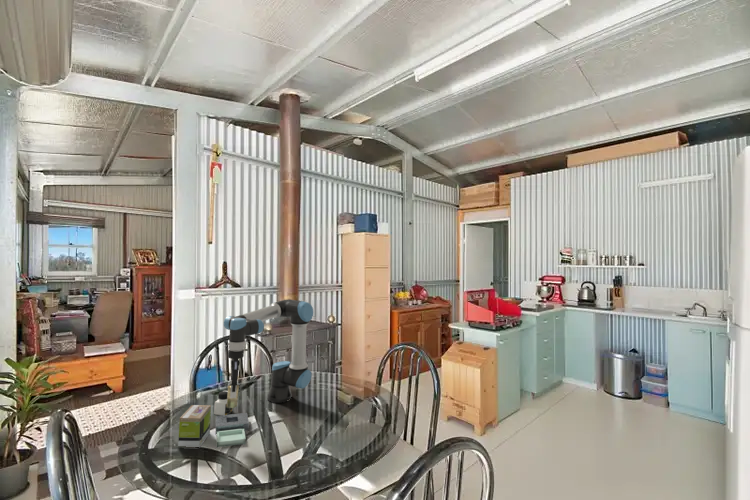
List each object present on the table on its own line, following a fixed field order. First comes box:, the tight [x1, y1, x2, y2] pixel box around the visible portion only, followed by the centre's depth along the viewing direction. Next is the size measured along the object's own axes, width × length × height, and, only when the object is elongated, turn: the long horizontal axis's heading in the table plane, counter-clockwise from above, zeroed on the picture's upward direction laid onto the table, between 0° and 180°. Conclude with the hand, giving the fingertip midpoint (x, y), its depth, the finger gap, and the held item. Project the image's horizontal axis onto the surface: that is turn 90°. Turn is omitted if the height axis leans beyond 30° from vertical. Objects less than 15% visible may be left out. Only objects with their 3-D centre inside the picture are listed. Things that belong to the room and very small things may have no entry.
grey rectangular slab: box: [215, 412, 250, 435], centre depth 201 cm, size 16×13×4 cm
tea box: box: [177, 404, 212, 448], centre depth 185 cm, size 15×10×15 cm, turn 5°
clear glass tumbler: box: [227, 384, 240, 409], centre depth 190 cm, size 5×5×10 cm
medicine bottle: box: [213, 390, 233, 416], centre depth 217 cm, size 7×7×12 cm
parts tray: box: [216, 428, 246, 448], centre depth 188 cm, size 13×11×2 cm
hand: (232, 395), depth 190 cm, fingers closed on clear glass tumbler, 5 cm apart
